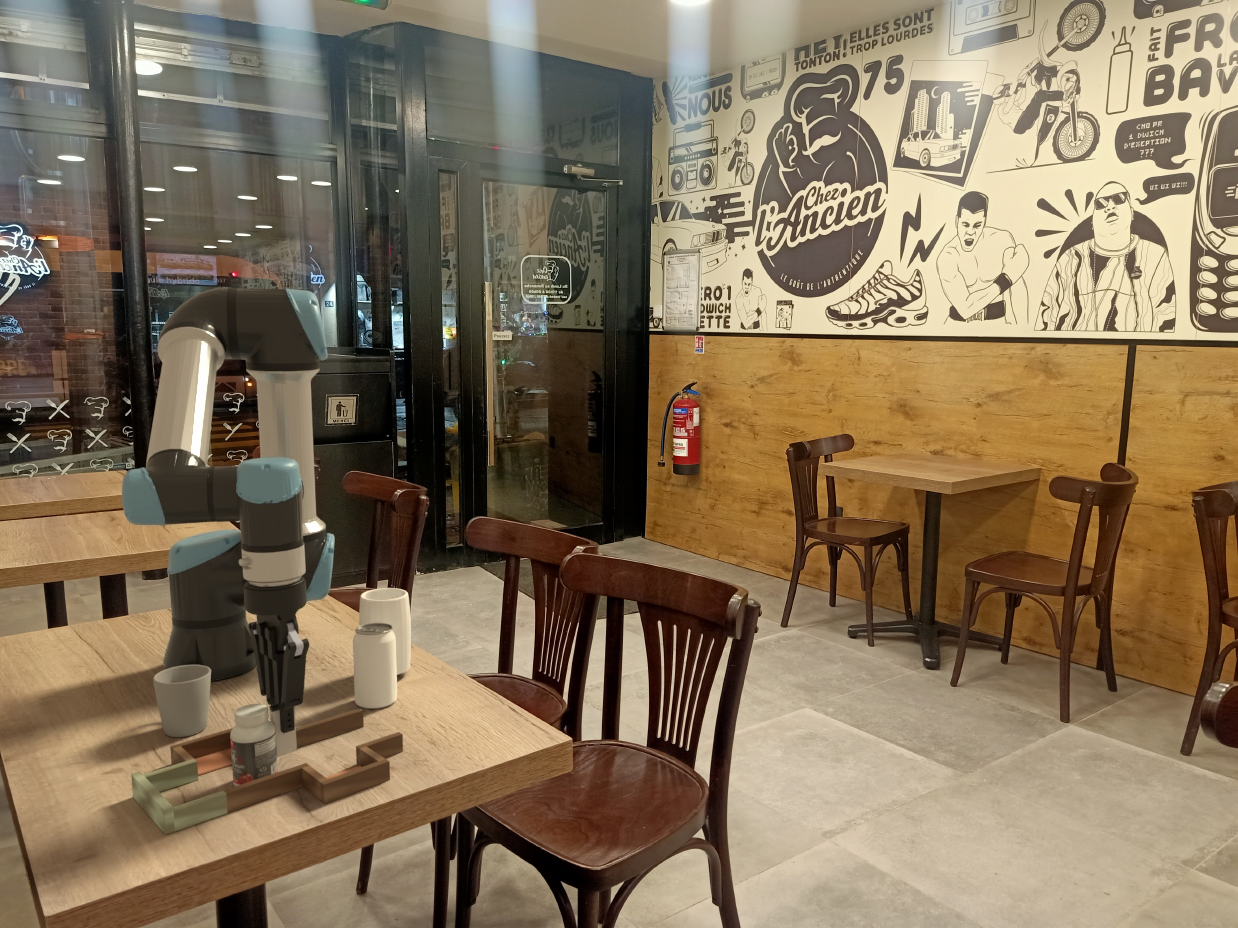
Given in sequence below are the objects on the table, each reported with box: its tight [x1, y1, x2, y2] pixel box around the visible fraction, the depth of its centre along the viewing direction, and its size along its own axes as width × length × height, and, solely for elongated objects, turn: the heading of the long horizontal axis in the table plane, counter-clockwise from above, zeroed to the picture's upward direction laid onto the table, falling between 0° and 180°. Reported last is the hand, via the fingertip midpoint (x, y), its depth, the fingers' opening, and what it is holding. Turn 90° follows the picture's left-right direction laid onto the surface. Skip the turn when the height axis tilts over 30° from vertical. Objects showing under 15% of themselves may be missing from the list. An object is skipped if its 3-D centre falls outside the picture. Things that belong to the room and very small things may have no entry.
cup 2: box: [358, 587, 412, 676], centre depth 153 cm, size 8×8×14 cm
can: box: [352, 623, 398, 710], centre depth 142 cm, size 6×6×12 cm
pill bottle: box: [230, 703, 279, 787], centre depth 116 cm, size 5×5×10 cm
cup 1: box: [152, 665, 212, 738], centre depth 133 cm, size 8×10×8 cm
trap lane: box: [130, 708, 404, 835], centre depth 119 cm, size 24×31×3 cm
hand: (284, 751), depth 120 cm, fingers closed
